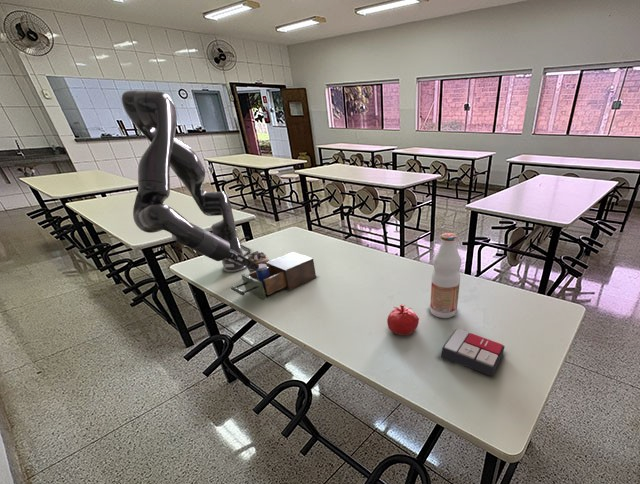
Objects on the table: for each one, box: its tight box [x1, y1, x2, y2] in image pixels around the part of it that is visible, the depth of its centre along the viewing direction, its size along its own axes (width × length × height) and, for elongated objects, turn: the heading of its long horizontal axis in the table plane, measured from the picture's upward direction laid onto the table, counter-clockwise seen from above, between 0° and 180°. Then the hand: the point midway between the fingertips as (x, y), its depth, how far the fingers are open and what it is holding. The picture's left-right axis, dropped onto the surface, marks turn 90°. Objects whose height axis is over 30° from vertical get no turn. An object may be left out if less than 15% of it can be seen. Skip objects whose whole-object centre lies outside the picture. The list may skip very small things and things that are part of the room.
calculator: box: [440, 328, 506, 377], centre depth 91 cm, size 11×4×15 cm
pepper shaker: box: [256, 264, 270, 290], centre depth 122 cm, size 4×4×9 cm
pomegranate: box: [386, 304, 420, 336], centre depth 101 cm, size 10×10×9 cm
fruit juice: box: [429, 232, 462, 319], centre depth 105 cm, size 9×9×28 cm
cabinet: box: [266, 251, 317, 291], centre depth 132 cm, size 14×13×9 cm
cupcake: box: [246, 250, 270, 273], centre depth 135 cm, size 10×10×10 cm
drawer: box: [230, 266, 287, 300], centre depth 121 cm, size 19×12×7 cm, turn 144°
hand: (251, 265), depth 116 cm, fingers open, 6 cm apart
